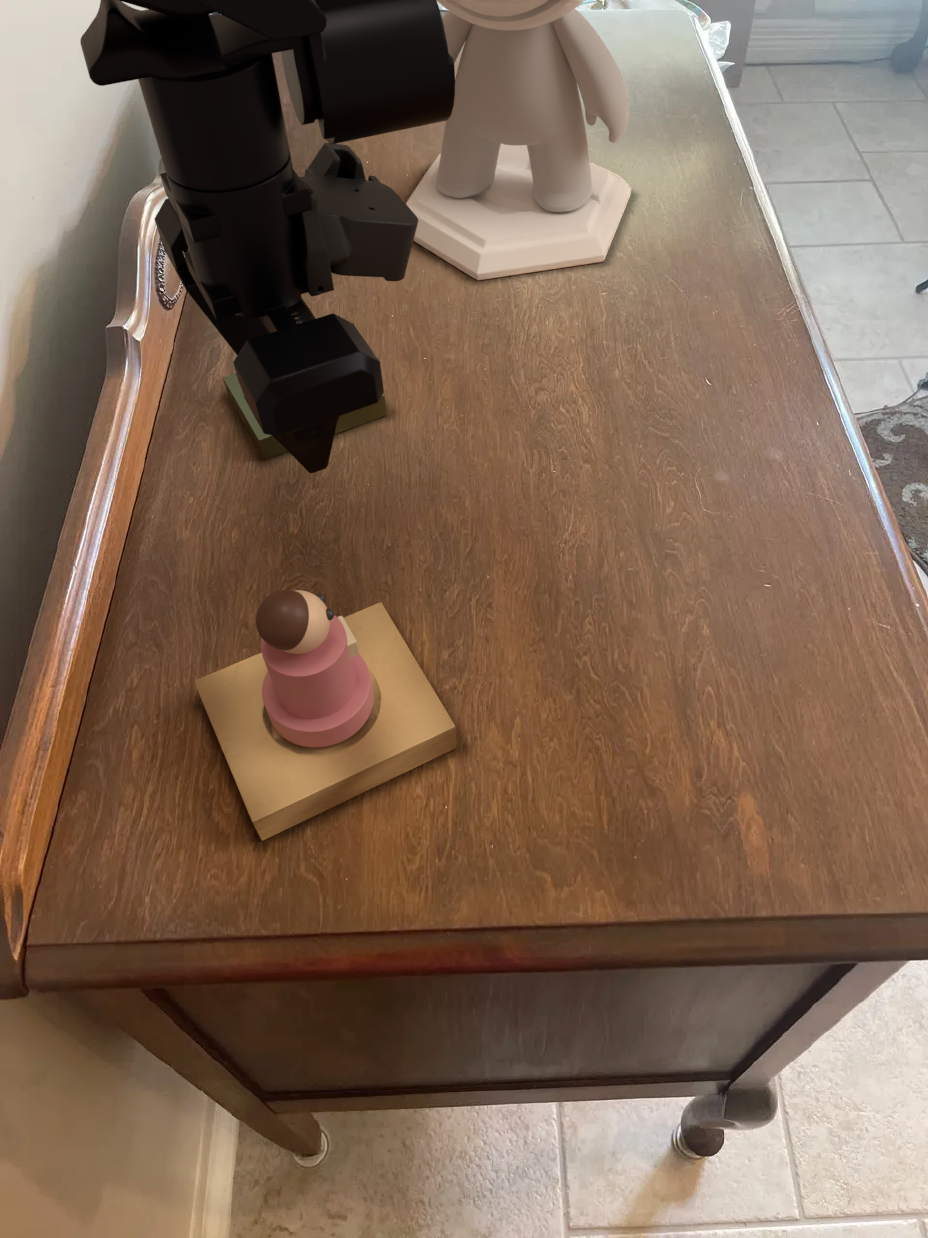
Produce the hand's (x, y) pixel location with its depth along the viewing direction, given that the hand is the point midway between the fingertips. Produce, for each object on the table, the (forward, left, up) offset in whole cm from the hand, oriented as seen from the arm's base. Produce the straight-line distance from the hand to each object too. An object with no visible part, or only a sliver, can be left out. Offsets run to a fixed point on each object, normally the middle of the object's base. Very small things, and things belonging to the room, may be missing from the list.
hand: (290, 420), depth 55 cm
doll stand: (-5, -14, -10) cm, 18 cm away
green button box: (+4, +13, -10) cm, 17 cm away
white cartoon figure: (+32, +29, -11) cm, 44 cm away
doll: (-5, -14, -8) cm, 17 cm away
